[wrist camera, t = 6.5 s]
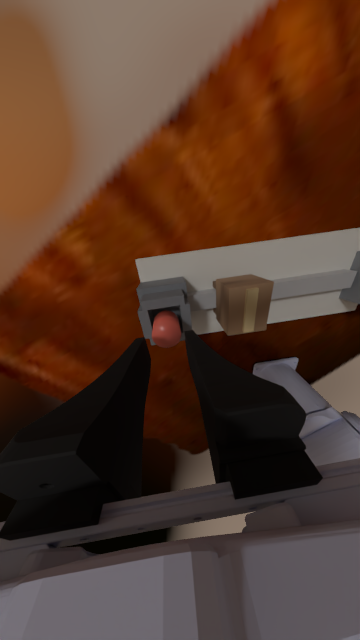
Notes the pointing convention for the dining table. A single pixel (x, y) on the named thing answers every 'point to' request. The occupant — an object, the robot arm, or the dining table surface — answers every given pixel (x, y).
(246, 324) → the block
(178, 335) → the button
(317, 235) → the rail track
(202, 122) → the dining table surface
